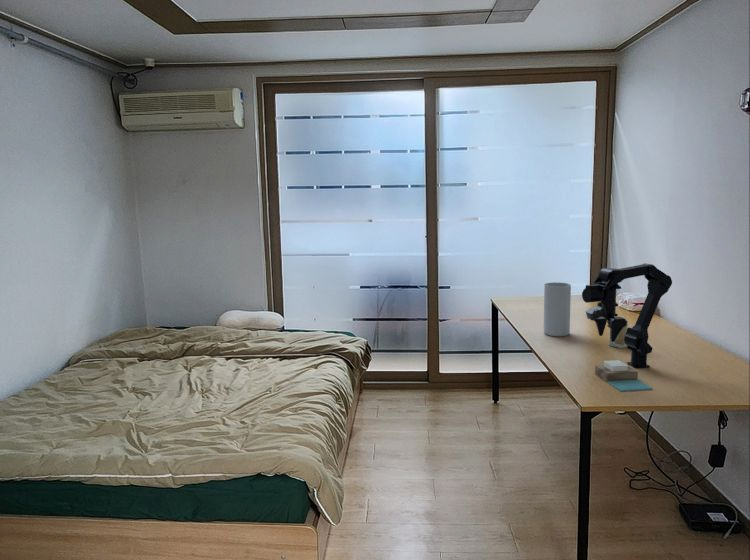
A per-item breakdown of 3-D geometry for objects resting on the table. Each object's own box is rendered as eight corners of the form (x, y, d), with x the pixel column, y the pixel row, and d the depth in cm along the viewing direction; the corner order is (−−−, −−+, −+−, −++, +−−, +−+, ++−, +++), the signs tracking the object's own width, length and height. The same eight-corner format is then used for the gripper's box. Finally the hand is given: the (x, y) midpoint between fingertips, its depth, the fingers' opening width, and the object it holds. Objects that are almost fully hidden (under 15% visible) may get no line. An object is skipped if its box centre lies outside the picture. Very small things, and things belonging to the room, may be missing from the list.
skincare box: (608, 345, 271) (609, 320, 269) (613, 344, 274) (614, 318, 272) (622, 348, 266) (623, 322, 264) (627, 346, 269) (628, 320, 267)
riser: (594, 374, 233) (595, 365, 232) (623, 372, 234) (624, 363, 233) (607, 382, 223) (607, 373, 223) (637, 380, 224) (637, 371, 224)
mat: (607, 382, 223) (607, 381, 223) (637, 380, 224) (638, 379, 224) (620, 391, 213) (620, 390, 213) (652, 389, 214) (652, 388, 214)
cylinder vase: (572, 336, 288) (574, 286, 284) (547, 337, 289) (548, 287, 285) (565, 330, 301) (566, 282, 297) (540, 330, 301) (541, 282, 297)
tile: (603, 365, 232) (603, 360, 231) (618, 364, 232) (618, 360, 232) (612, 371, 225) (612, 366, 224) (627, 370, 225) (627, 365, 225)
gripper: (577, 297, 241) (576, 334, 243) (601, 306, 222) (599, 346, 225) (603, 295, 242) (601, 332, 245) (628, 304, 224) (626, 344, 226)
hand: (606, 338), depth 235 cm, fingers open, 9 cm apart
